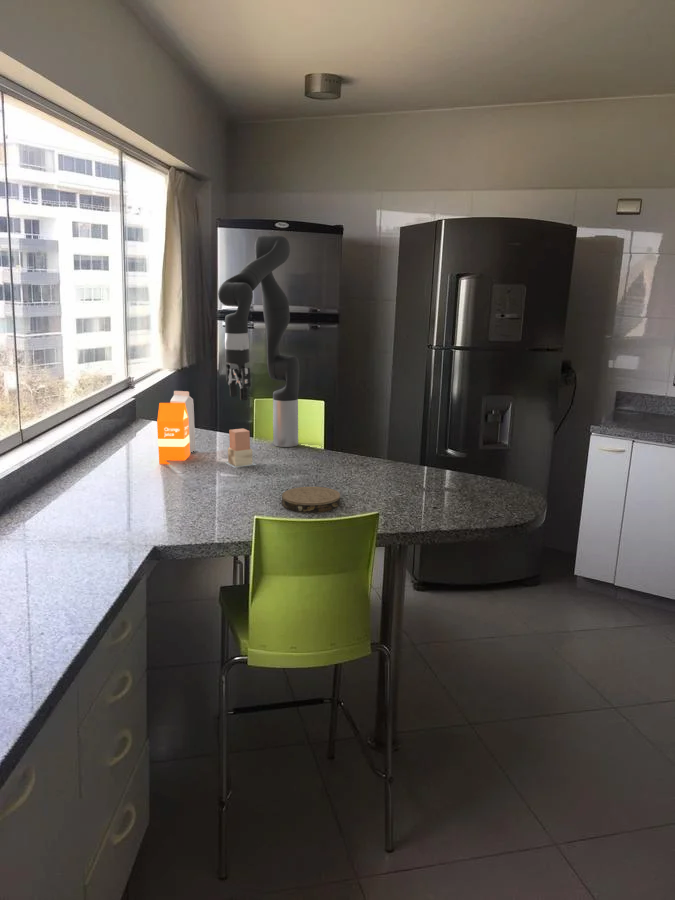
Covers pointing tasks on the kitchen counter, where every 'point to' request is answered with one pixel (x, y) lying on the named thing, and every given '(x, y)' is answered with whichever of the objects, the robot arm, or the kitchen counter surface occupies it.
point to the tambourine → (311, 499)
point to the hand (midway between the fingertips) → (238, 398)
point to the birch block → (240, 457)
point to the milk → (185, 398)
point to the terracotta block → (239, 439)
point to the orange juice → (173, 432)
